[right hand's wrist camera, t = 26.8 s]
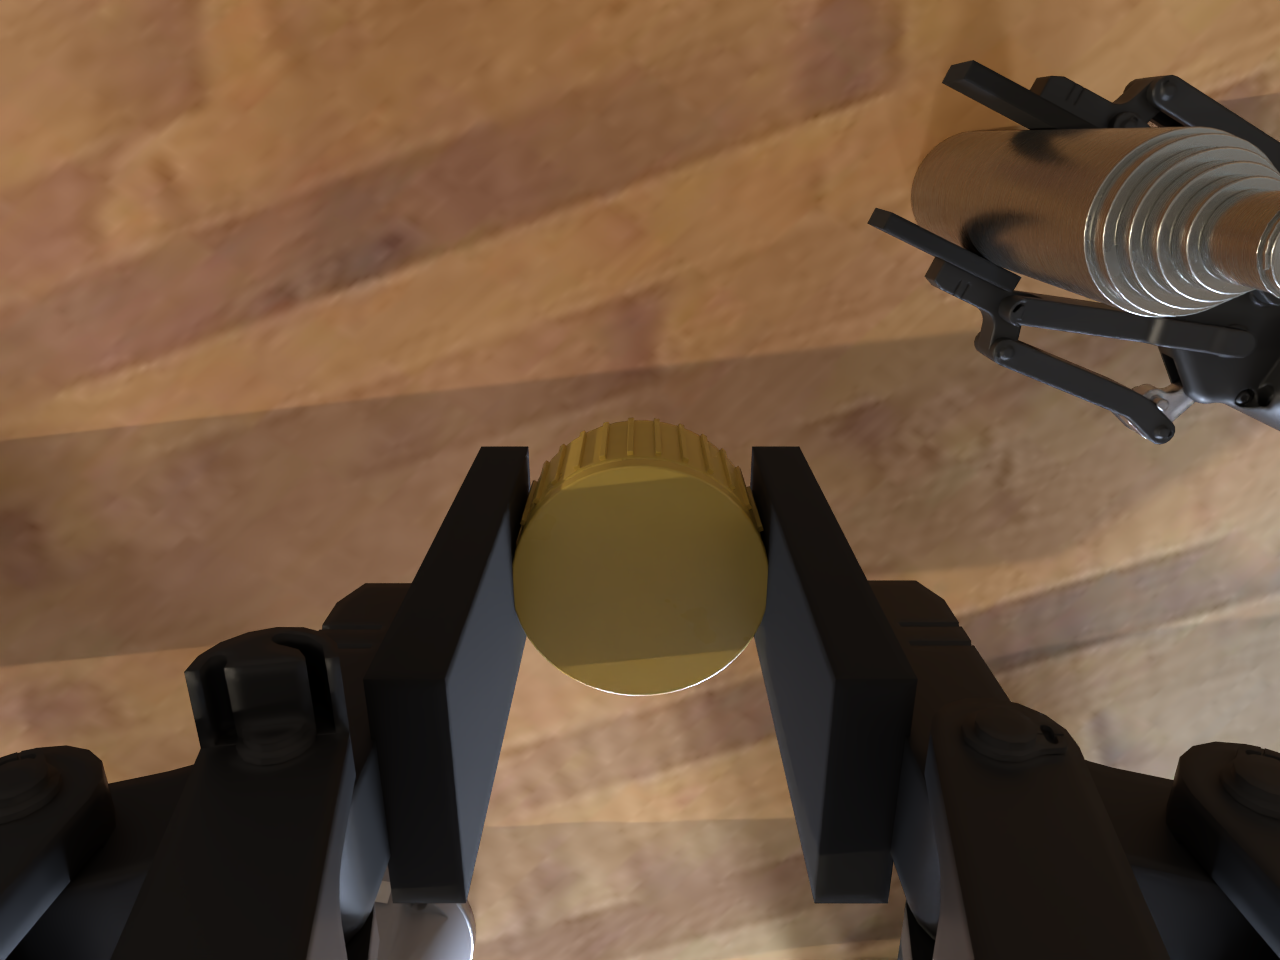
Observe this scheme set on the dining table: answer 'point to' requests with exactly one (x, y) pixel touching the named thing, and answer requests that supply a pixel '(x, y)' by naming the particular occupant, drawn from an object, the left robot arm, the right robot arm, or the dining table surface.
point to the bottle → (1112, 212)
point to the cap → (640, 559)
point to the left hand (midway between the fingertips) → (917, 147)
